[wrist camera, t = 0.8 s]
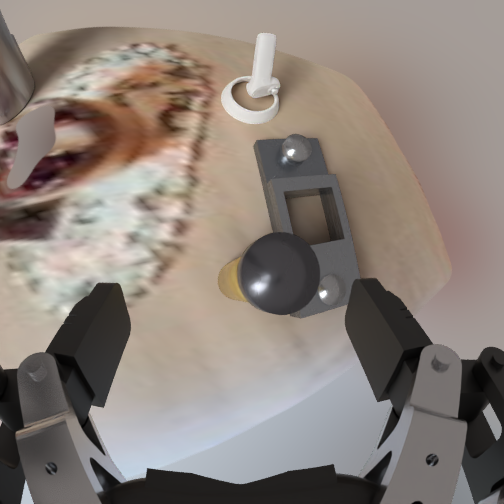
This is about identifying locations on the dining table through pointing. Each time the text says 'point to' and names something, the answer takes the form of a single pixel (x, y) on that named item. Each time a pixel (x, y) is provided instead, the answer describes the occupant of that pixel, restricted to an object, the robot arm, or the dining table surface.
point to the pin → (273, 274)
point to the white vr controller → (256, 84)
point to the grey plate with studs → (320, 183)
